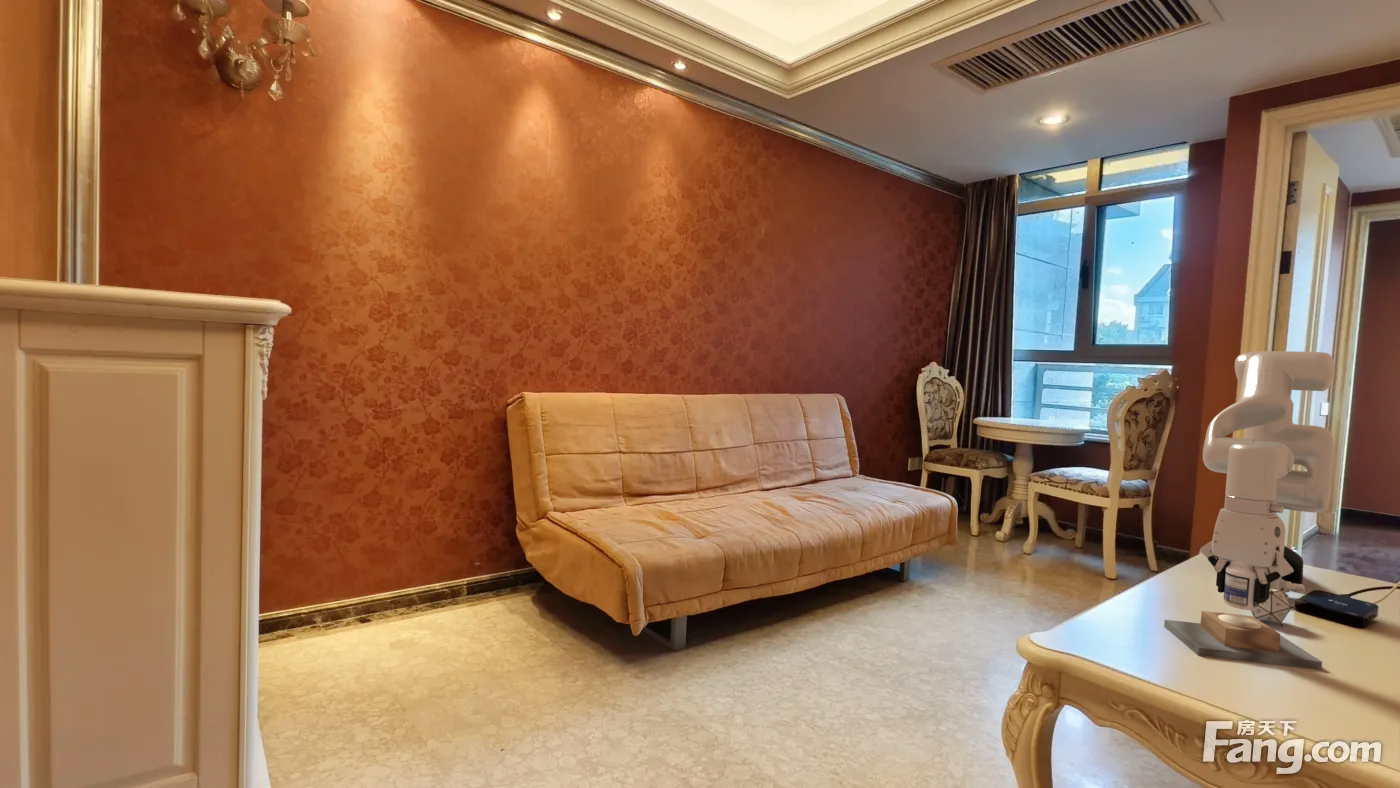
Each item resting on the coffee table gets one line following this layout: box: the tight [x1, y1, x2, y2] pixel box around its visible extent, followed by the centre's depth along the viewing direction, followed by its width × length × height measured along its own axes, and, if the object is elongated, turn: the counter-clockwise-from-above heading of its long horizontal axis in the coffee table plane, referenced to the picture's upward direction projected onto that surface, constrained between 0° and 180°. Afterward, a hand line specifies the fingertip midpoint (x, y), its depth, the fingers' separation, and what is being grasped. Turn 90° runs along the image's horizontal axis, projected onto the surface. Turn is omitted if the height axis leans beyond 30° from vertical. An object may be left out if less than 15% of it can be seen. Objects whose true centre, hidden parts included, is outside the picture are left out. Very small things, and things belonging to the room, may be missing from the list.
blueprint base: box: [1163, 610, 1323, 671], centre depth 130 cm, size 20×14×5 cm
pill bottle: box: [1223, 560, 1259, 611], centre depth 130 cm, size 5×5×10 cm
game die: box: [1249, 587, 1297, 628], centre depth 144 cm, size 9×8×10 cm
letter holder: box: [1230, 545, 1304, 585], centre depth 178 cm, size 10×20×14 cm, turn 163°
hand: (1241, 595), depth 130 cm, fingers closed on pill bottle, 5 cm apart
